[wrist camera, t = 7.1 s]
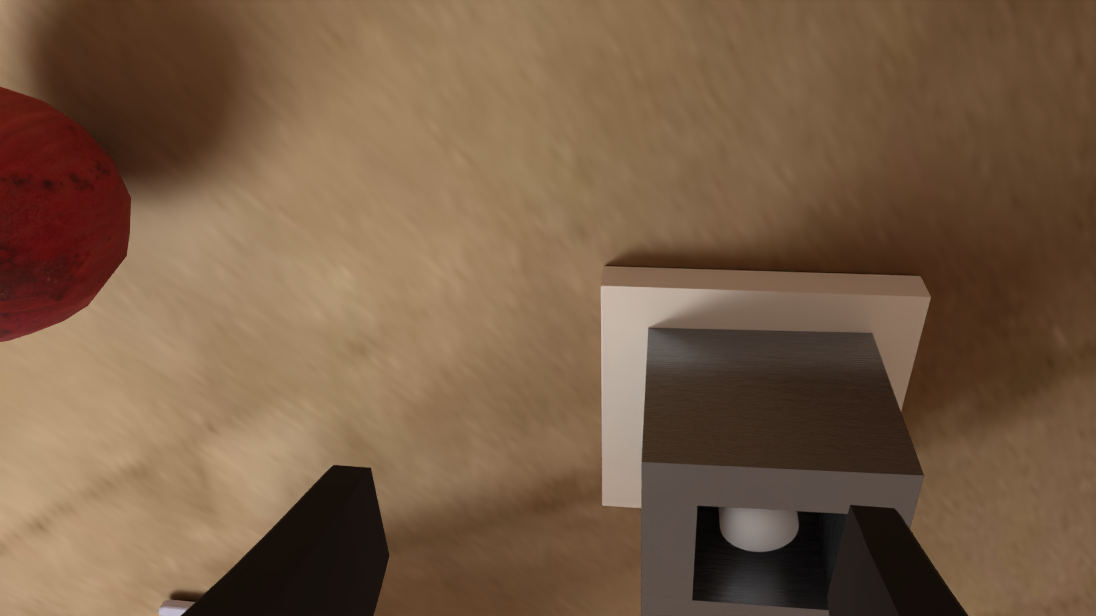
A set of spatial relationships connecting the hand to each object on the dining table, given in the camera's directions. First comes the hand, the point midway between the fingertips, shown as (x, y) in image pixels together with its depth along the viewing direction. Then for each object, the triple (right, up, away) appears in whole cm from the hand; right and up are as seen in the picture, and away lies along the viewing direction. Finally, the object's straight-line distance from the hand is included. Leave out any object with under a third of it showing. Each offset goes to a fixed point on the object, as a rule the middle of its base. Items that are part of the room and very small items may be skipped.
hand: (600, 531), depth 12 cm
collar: (+5, +1, +10) cm, 11 cm away
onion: (-13, +8, +9) cm, 18 cm away
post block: (+5, +1, +11) cm, 12 cm away
